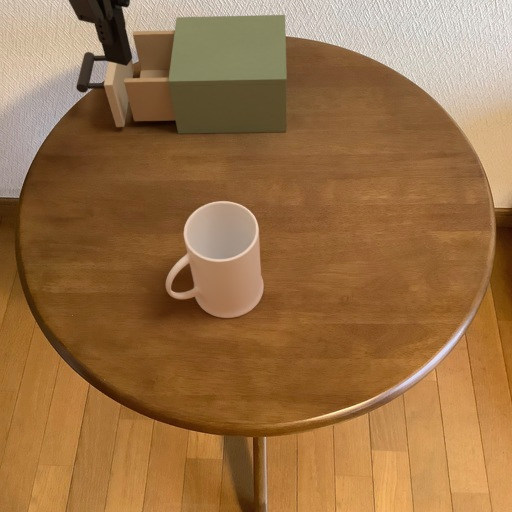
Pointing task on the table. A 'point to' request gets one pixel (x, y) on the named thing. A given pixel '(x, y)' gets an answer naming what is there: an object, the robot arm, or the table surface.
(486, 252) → the table surface
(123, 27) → the robot arm
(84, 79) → the drawer
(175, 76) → the cabinet
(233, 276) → the mug
